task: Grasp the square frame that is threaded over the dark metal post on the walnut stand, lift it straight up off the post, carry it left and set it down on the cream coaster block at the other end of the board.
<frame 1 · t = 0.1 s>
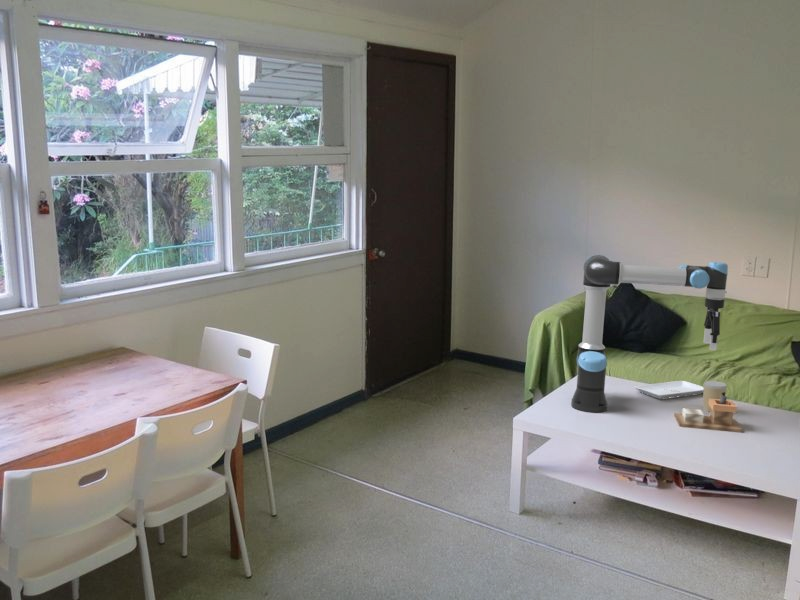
hand: (709, 346, 316), 28 cm above the table, fingers open, 13 cm apart
coffee cup: (712, 410, 320), on the table
tray: (671, 394, 343), on the table
stand: (707, 423, 301), on the table
square frame: (722, 408, 299), point 7 cm above the table, touching stand
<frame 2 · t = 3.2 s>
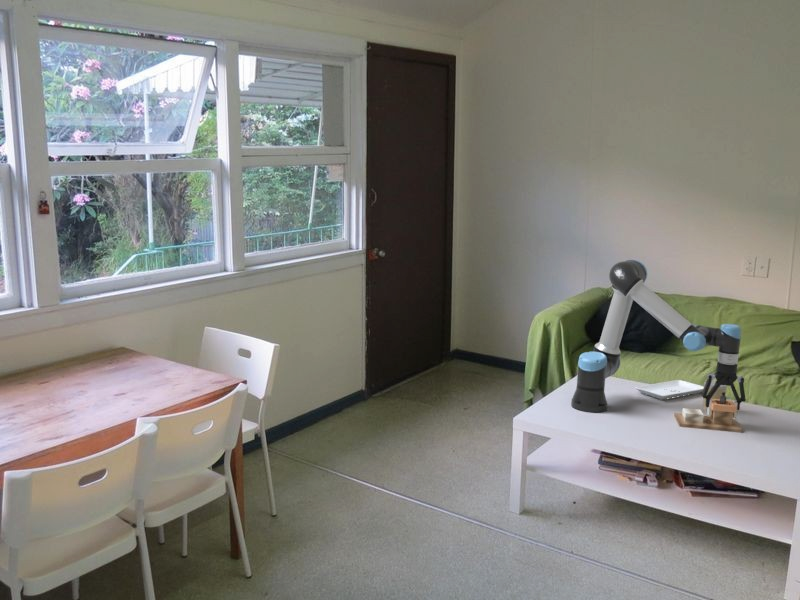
hand: (721, 416, 299), 4 cm above the table, fingers closed on square frame, 9 cm apart
square frame: (722, 408, 299), point 7 cm above the table, touching gripper, stand
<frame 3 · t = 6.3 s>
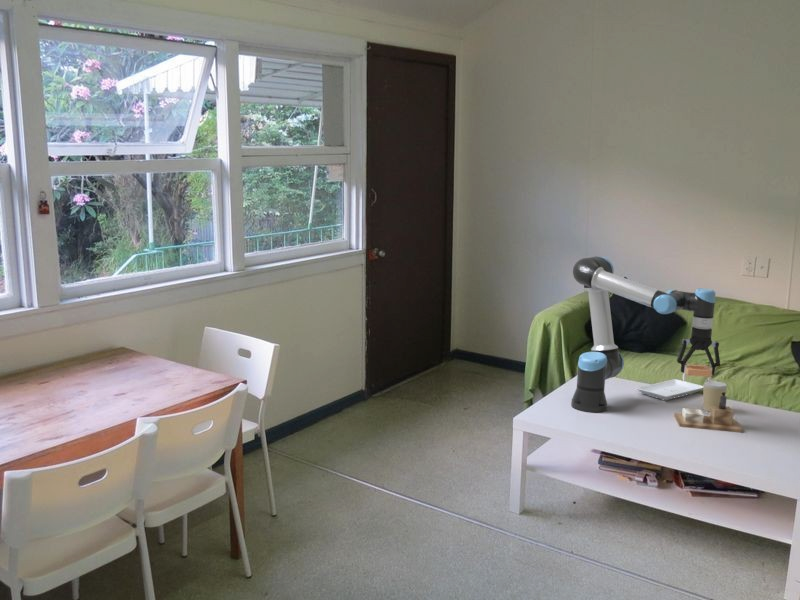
hand: (696, 381, 299), 18 cm above the table, fingers closed on square frame, 9 cm apart
square frame: (697, 373, 299), point 21 cm above the table, touching gripper
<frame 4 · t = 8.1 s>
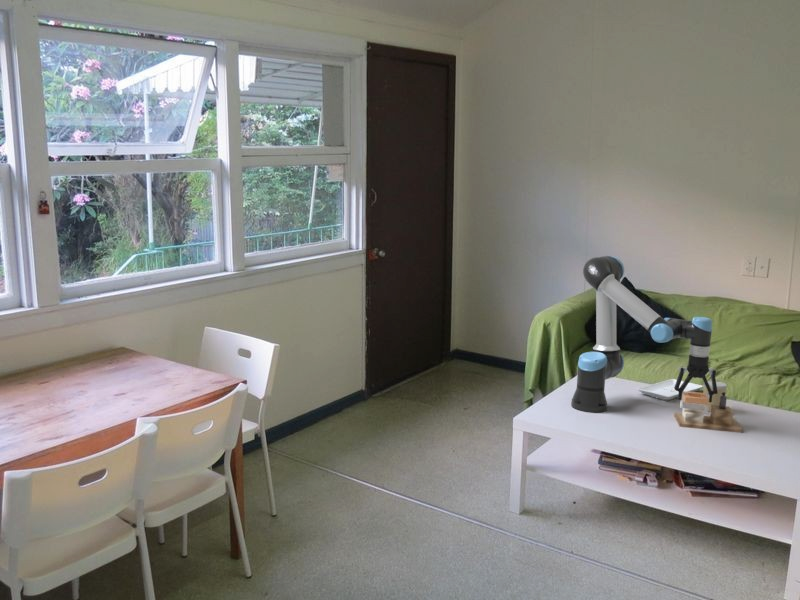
hand: (693, 408, 301), 6 cm above the table, fingers closed on square frame, 9 cm apart
square frame: (694, 400, 301), point 9 cm above the table, touching gripper
when the fingers open (3 cm above the table, at t = 9.4 s): square frame drops 1 cm, resting on stand.
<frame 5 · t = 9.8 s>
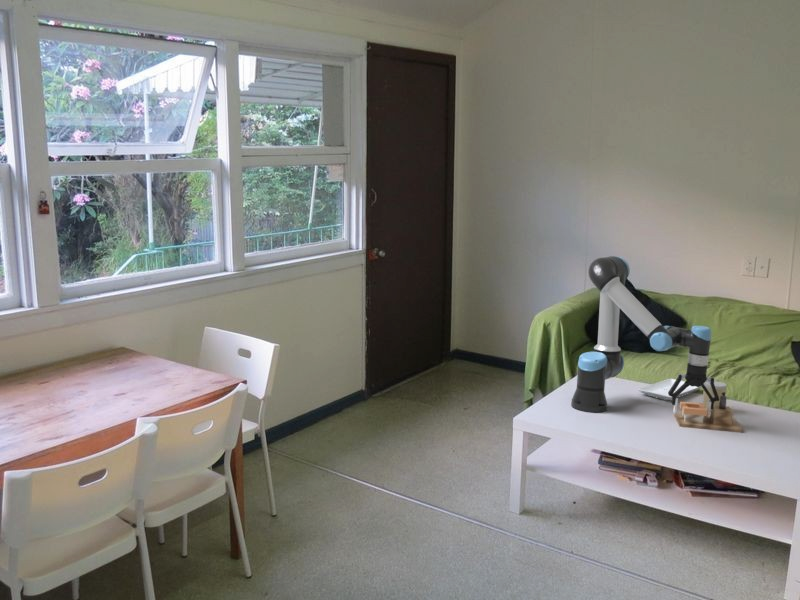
hand: (691, 414, 302), 3 cm above the table, fingers open, 12 cm apart
square frame: (693, 411, 301), point 5 cm above the table, touching stand
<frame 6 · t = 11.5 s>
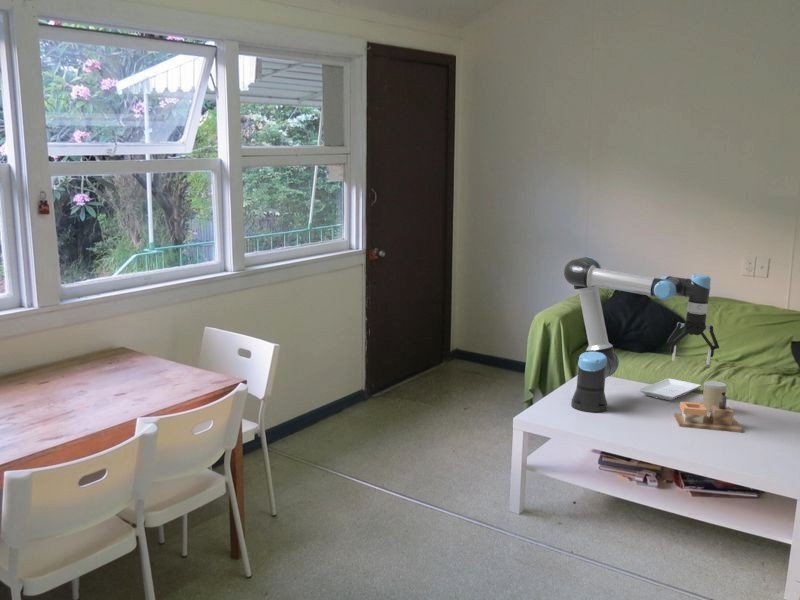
hand: (690, 362, 305), 24 cm above the table, fingers open, 13 cm apart
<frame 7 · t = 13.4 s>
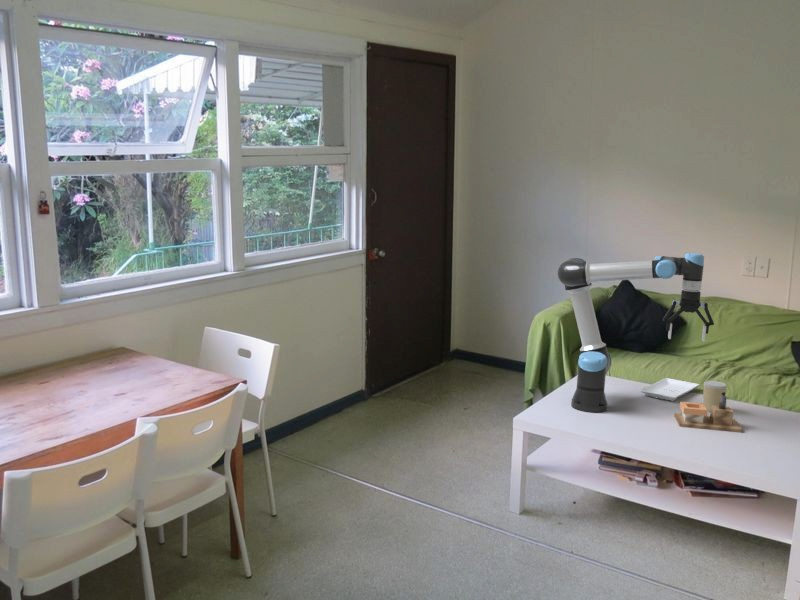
hand: (686, 339, 311), 32 cm above the table, fingers open, 13 cm apart
at the end: square frame inside the target area on the stand (0.0 cm from its centre), point 4.7 cm above the stand's base; square frame tilted 0°; the gripper is holding nothing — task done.
